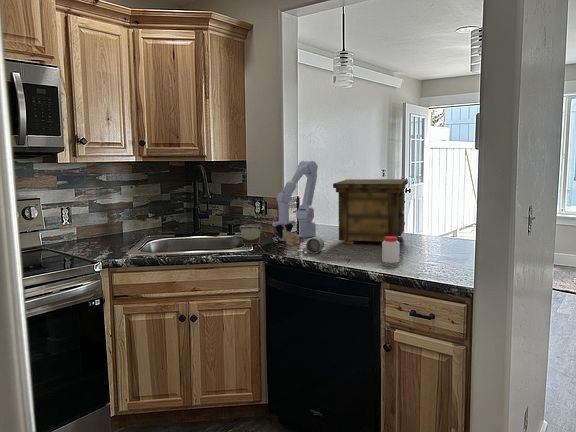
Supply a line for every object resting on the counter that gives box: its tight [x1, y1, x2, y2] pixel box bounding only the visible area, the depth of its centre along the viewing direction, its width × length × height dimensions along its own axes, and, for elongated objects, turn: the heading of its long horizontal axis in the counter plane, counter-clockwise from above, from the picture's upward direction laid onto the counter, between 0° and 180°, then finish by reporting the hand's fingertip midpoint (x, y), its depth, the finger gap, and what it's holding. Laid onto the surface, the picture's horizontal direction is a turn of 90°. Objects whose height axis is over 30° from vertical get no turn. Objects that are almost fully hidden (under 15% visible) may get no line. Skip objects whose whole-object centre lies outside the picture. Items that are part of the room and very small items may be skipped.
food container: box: [238, 223, 263, 245], centre depth 266 cm, size 12×6×10 cm, turn 84°
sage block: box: [278, 230, 291, 242], centre depth 272 cm, size 4×4×5 cm
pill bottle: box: [381, 236, 401, 264], centre depth 216 cm, size 8×8×11 cm
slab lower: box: [286, 239, 300, 246], centre depth 261 cm, size 5×5×2 cm
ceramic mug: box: [301, 236, 325, 254], centre depth 239 cm, size 11×8×8 cm
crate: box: [332, 178, 409, 245], centre depth 264 cm, size 35×35×33 cm
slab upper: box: [286, 233, 300, 241], centre depth 261 cm, size 5×5×2 cm
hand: (284, 237), depth 272 cm, fingers closed on sage block, 4 cm apart
